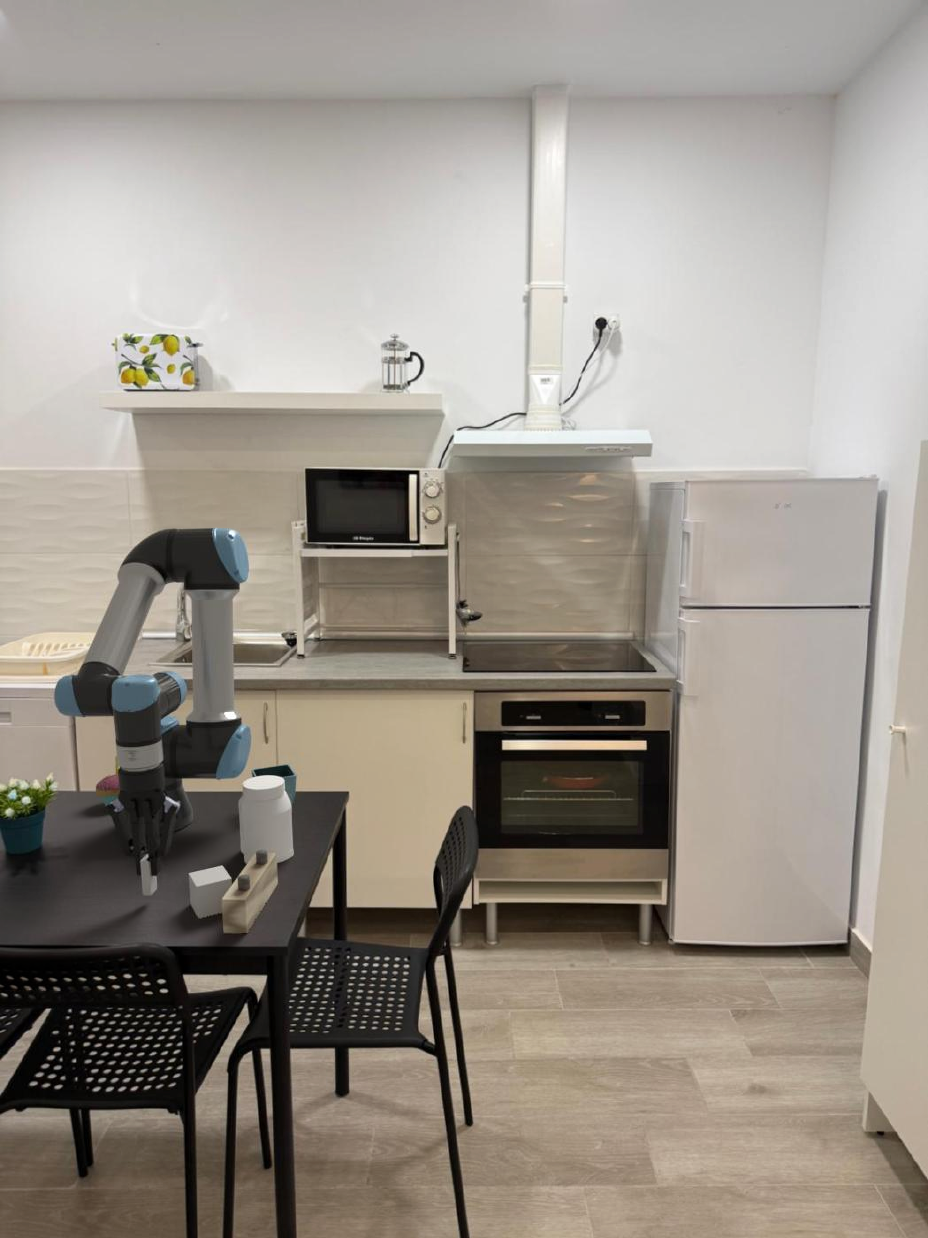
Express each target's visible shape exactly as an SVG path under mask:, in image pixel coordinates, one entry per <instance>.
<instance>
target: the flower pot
mask: <svg viewBox="0 0 928 1238" xmlns="http://www.w3.org/2000/svg"><path fill="white" fill-rule="evenodd" d="M265 775H272V776H279V777H281V778H283V779H284V781H285V792H286V793H287V795H288V797H289V800H290V802H291V807H292V806H293V803H294V801H295V798H296V793H297V791H296V790H297V778H298V777H297V774H296V772H295V771H294V769H293V768H292V767H291V765H290V764H288V763H286V764H279V765H272V766H266V767H259V768H254V769H251V776H252V777H251V778H253V777H257V776H265Z"/></svg>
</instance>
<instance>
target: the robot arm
mask: <svg viewBox="0 0 928 1238" xmlns="http://www.w3.org/2000/svg"><path fill="white" fill-rule="evenodd" d="M249 571H250V563H249V555H248V552H247V547H246V545H245V542H244V540H243V538H242V536H241V535H240V533H239V532H237V531H236V530H234V529H231V528H220V527H213V528H211V527H209V528H165V529H161V530H158V531H156V532H154V533H152V534H150V535H148V536H147V537H145V538H144V539H142V540H141V541H140V542H139V543H137V544H136V545H135V546H134V547H133V548H132V549H131V550H130V551H129V553H128V554H127V555H126V557H125V558H124V559H123V561H122V563H121V565H120V567H119V569H118V571H117V575H116V576H117V580H118V583H117V586H116V588H115V590H114V592H113V595H112V596H111V599H110V602H109V603H108V606H107V608H106V611H105V613H104V615H103V618H102V619H101V622H100V624H99V625H98V628H97V631H96V633H95V635H94V638H93V640H92V642H91V644H90V647H89V648H88V651H87V652H86V655H85V657H84V660H83V662H82V664H81V666H80V668H79V669H78V673H77V674H69V675H64V676H62V677H61V678H59V679H58V681H57V682H56V685H55V687H54V691H53V692H54V693H53V699H54V704H55V707H56V709H57V711H58V712H59V713H60V714H61V715H63V716H66V717H67V716H68V717H76V718H77V717H80V718H86V717H87V718H88V717H90V718H91V717H113V726H114V734H115V735H114V736H115V738H114V739H115V750H116V756H117V764H118V766H119V769H118V780H119V788H120V792H119V794H118V799H116V800H113V801H112V802H110V803H109V804H108V805H107V806H105V810H106V812H107V813H108V815H110V818H111V819H112V822H113V825H114V827H115V832H116V833H117V838H118V841H119V843H120V846H121V849H122V853H123V855H124V856H125V857H129V856H130V857H133V858H134V860H135V869H136V870H135V871H136V872H135V873H136V875H137V876H138V877H141V886H142V887H141V889H142V895H143V896H153V894H154V893H155V892H156V891H157V890H158V881H157V876H158V875H159V874H160V873H161V871H162V870H161V857H165V855H167V853H169V851H170V850H171V845H172V841H173V836H174V835H173V834H174V832H177V831H179V830H181V829H183V828H185V827H187V826H189V825H190V824H191V823H192V822H193V819H194V816H193V815H194V814H193V813H194V812H193V807H192V804H191V803H190V800H189V797H188V795H187V793H186V789H185V788H184V786H183V780H187V779H188V780H191V779H192V780H195V779H198V780H218V781H220V780H224V779H225V780H226V779H227V780H228V779H235V778H237V777H239V776H240V775H242V774H243V772H244V771H245V768H246V766H247V763H248V760H249V757H250V751H251V748H252V747H251V746H252V732H251V727H250V726H249V725H248V724H245V723H242V722H243V721H242V720H243V719H242V716H243V715H242V714H241V713H240V712H239V711H238V710H237V709H236V708H235V680H234V679H235V673H234V672H235V671H234V670H235V668H234V667H235V665H234V664H235V661H234V659H235V658H234V656H235V655H234V605H233V604H234V598H235V597H236V596H237V595H238V594H239V592H240V591H241V589H240V588H241V587H240V586H241V584H243V583H245V582H247V581H248V579H249ZM172 583H179V584H181V583H183V592H184V593H185V594H186V595H187V596H188V597H189V599H191V648H192V649H191V653H192V656H191V657H192V659H191V662H192V702H193V703H192V710H191V712H190V713H189V714H188V715H187V716H186V718H185V724H180V719H178V717H177V716H173V715H170V714H172V713H174V712H176V711H177V710H178V709H179V708H180V706H181V705H182V704H183V703H184V702H185V700H186V699H187V694H188V687H187V684H186V682H185V680H184V679H183V677H182V676H181V675H180V674H178V673H177V672H174V671H171V670H162V671H158V672H157V673H156V672H155V673H154V674H152V675H150V674H132V675H131V674H130V675H124V673H125V670H126V669H127V665H128V664H129V660H130V658H131V656H132V655H133V654H132V653H133V651H134V648H135V647H136V643H137V641H138V638H139V636H140V634H141V631H142V629H143V626H144V624H145V622H146V619H147V617H148V614H149V612H150V609H151V607H152V604H153V601H154V600H155V597H156V596H158V595H160V594H162V592H163V591H164V588H165V587H166V586H167V585H168V584H172ZM146 853H147V854H146Z"/></svg>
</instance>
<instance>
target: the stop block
mask: <svg viewBox="0 0 928 1238" xmlns="http://www.w3.org/2000/svg"><path fill="white" fill-rule="evenodd" d="M278 878H279V877H278V863H277V854H276V853H267V851H266V850H258V851H257V852H256V853H255V854H254V855H253V857H252V858H251V859H250V861H249V862H248V864H246V865H245V866H244V868H243V869H242V870H241V871H240V873H239V874H238V876H237V877H236V879H235V880H234V882H232V886H231V887H230V888H229V890H228V891H227V893H226V894H225V895H224V897H223V898H222V913H221V914H222V929H223V934H241V933H247V934H248V933H249V931H250V930H251V928H252V926H253V925H254V923H255V922H254V921H256V920H257V919H258V917H259V915H260V913H261V912H262V910H263V909H264V907H265V905H266V904H267V902H268V900H269V899H270V897H271V895H272V894H273V892H274V891H275V889H276V887H277V885H279V879H278ZM265 903H266V904H265ZM260 911H261V912H260ZM255 919H256V920H255ZM249 929H250V930H249Z"/></svg>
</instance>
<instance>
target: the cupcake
mask: <svg viewBox="0 0 928 1238" xmlns="http://www.w3.org/2000/svg"><path fill="white" fill-rule="evenodd" d="M119 768H120V767H119V766H118V764H117V755H116V756H115V774H109V775H107V776H105V777H103V778H102V779H101V780H99V782H98V783H97V784H95V794H96V795H97V796H98V797H99V796H100V798H101V799H102V801H103V804H104V806H105V807H106V806H107V805H108V804H109V803H110V802H112V801H113V800H116V799H118V794H119V792H120V788H119V780H118V769H119Z"/></svg>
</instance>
